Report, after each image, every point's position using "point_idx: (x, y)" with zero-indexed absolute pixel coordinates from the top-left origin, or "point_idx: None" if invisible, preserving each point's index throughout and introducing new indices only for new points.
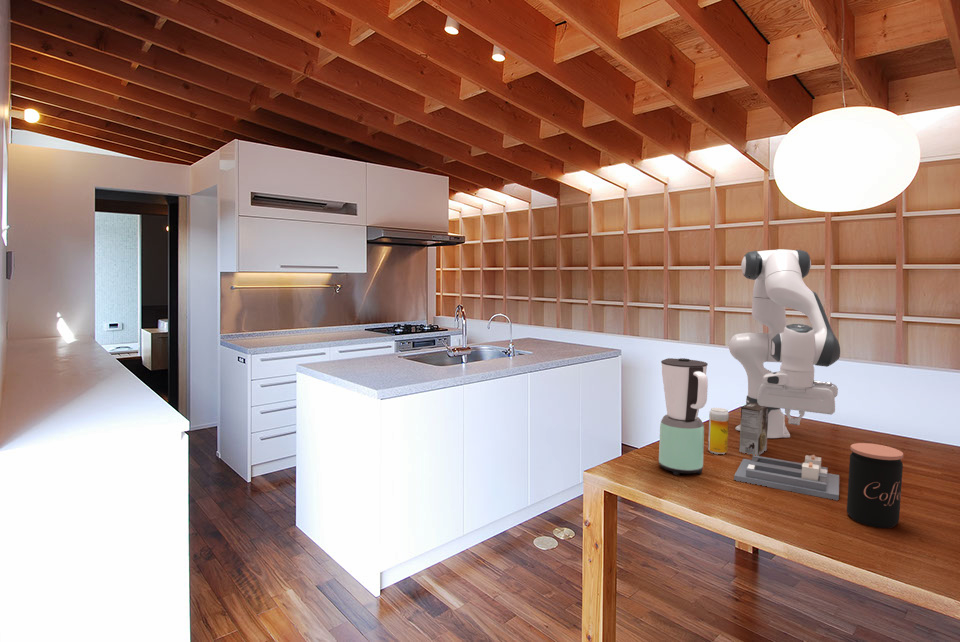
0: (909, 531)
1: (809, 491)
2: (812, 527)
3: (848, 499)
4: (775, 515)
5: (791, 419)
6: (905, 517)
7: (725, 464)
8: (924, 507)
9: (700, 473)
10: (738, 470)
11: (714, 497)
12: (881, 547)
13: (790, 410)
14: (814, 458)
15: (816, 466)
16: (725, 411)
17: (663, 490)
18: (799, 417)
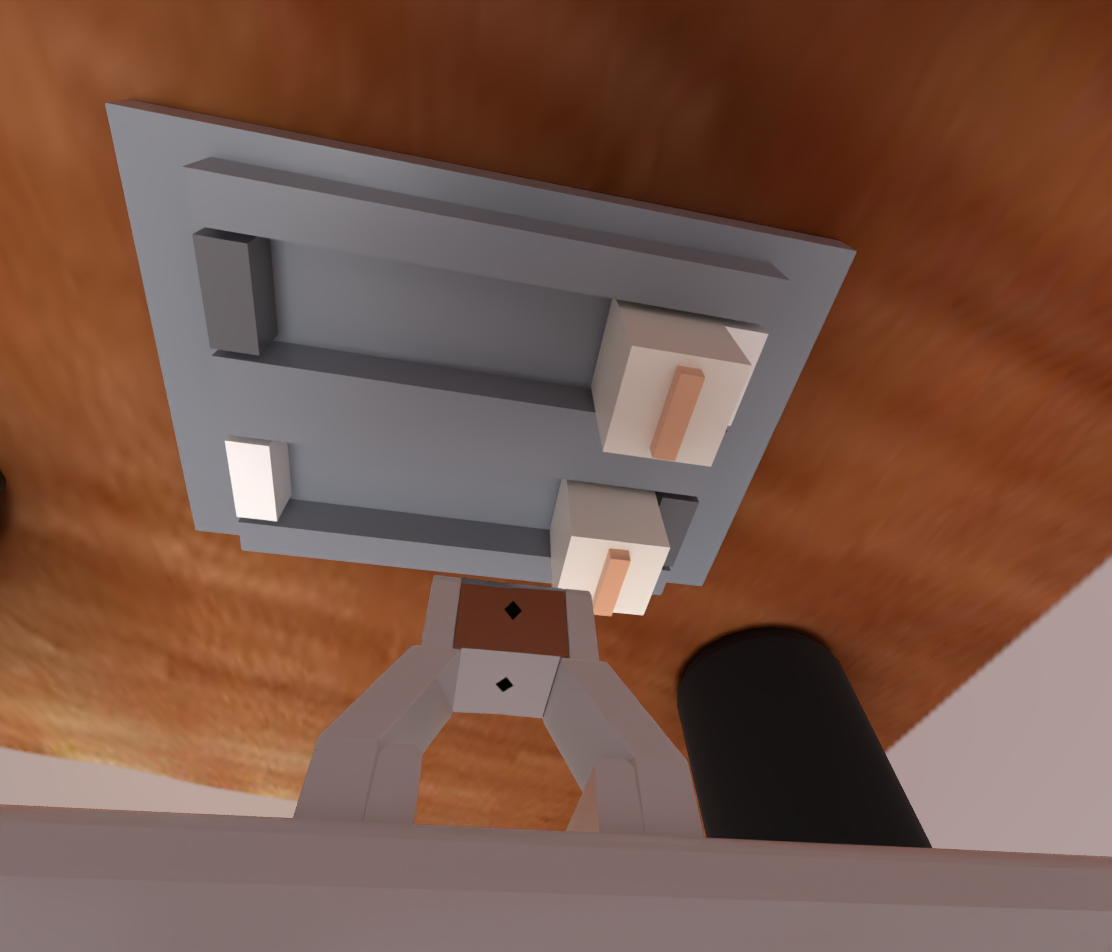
0: None
1: None
2: (539, 766)
3: (688, 744)
4: (434, 741)
5: (460, 698)
6: (897, 621)
7: (24, 213)
8: (1075, 502)
9: (1, 490)
10: (185, 440)
11: (207, 698)
12: None
13: (417, 795)
14: (673, 458)
15: (644, 575)
16: None
17: (5, 708)
18: (574, 760)
